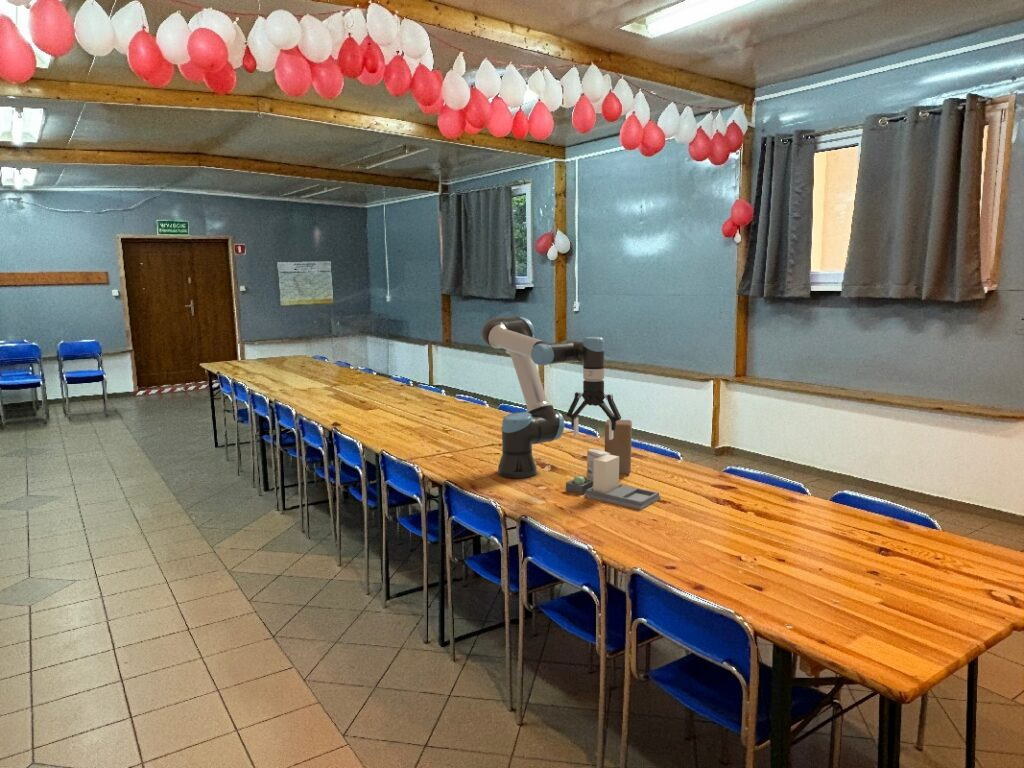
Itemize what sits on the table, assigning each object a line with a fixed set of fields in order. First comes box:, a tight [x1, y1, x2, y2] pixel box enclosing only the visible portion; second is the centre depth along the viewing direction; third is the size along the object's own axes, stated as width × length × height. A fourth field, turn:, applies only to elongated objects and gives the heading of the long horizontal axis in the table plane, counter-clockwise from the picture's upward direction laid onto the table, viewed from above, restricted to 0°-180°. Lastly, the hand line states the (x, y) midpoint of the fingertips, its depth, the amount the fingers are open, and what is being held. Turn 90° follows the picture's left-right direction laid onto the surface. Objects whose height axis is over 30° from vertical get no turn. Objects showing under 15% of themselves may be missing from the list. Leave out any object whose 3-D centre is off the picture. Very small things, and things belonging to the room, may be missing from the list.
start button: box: [573, 475, 585, 485], centre depth 243 cm, size 4×4×4 cm
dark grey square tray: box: [565, 479, 593, 495], centre depth 243 cm, size 7×7×3 cm
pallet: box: [584, 483, 661, 511], centre depth 234 cm, size 22×14×2 cm, turn 51°
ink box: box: [586, 448, 610, 482], centre depth 252 cm, size 8×5×12 cm, turn 30°
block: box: [604, 418, 633, 476], centre depth 264 cm, size 10×10×20 cm
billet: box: [593, 454, 620, 493], centre depth 237 cm, size 5×9×12 cm, turn 141°
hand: (593, 437), depth 247 cm, fingers open, 13 cm apart
